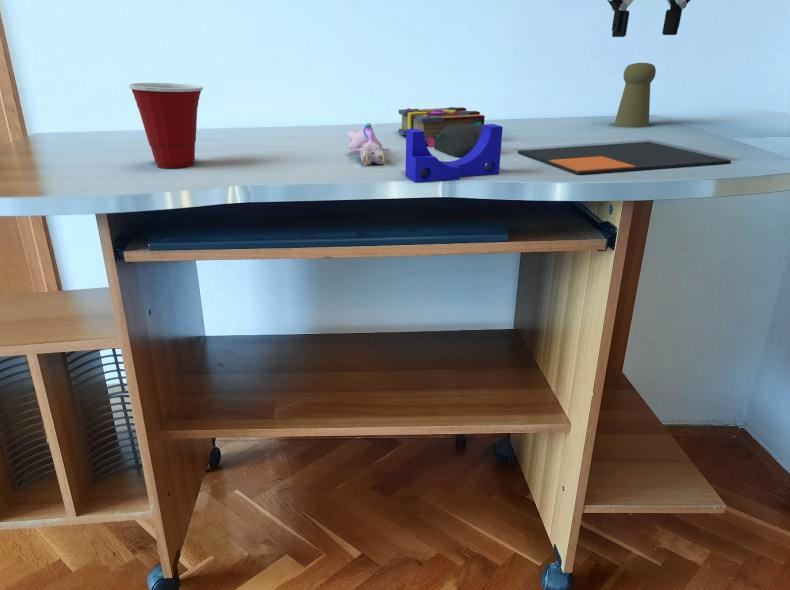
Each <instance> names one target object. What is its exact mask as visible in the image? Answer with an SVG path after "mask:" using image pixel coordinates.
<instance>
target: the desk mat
mask: <svg viewBox="0 0 790 590" xmlns="http://www.w3.org/2000/svg"><path fill="white" fill-rule="evenodd" d="M517 154H519V155H522V156H524V157H528V158H530V159H533V160H536V161H539V162H542V163H543V164H547V165H549V166H553V167H556V168H558V169H561V170H564V171H567V172H569V173H572V174H574V175H578V176H583V175H597V174H598V175H599V174H608V173H609V174H610V173H622V172H635V171H647V170H661V169H673V168H674V169H675V168H687V167H699V166H700V167H701V166H714V165H726V164H727V165H728V164H731V163H732V159H726V158H722V157H718V156H713V155H709V154H705V153H700V152H696V151H691V150H687V149H683V148H679V147H674V146H671V145H670V146H669V145H665V144H661V143H656V142H652V141H640V142H639V141H637V142H623V143H608V144H593V145H580V146H579V145H578V146H566V147H564V146H563V147H551V148H549V147H548V148H538V149H537V148H536V149H534V148H533V149H523V150H517Z"/></svg>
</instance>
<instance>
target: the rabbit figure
mask: <svg viewBox="0 0 790 590" xmlns="http://www.w3.org/2000/svg"><path fill="white" fill-rule="evenodd" d="M371 124H372V123H370V122H366V123H365V124H364V126H363V130H359V131H356V130H349V131H348V132H347V136H348V140H350V143H349V145H348V150H349V151H348V152H349V154H353V155H355V156H360V162H361V163H362V164H363V165H364V166H369V165H370V166H371V165H372V164H376V165H382V164H383V167H385V164H386V165H387V164H388V162H387V159H386V155H385V152H391V148H390V147H384V146H382V143H381V142H380V140H379V139H378V138H377V137H376V135H375V132H374V130H373V127H372V125H371Z"/></svg>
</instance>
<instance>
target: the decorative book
mask: <svg viewBox="0 0 790 590" xmlns="http://www.w3.org/2000/svg"><path fill="white" fill-rule="evenodd" d="M398 115H401V128H398V134H399V135H402V136H406V129H419V130H422V131H424V137H425V142H426V146H427V147H428V148H434V145H435V141H436V139H437V137H438V135H439V134H440V132H441V131H442V130H443V129H445V128H446V127H448V126H453V125H468V124H476V125H479V126H481V127H483V125H484V124H485V119H486V116H485V115H483V114H481V112H480V111H478V110H467V108H466V107H463V106H461V107H456V106H455V107H454V106H449V107H442V108H441V107H440V108H423V109H419V108H409V107H408V108H405V109H402V108H401V109H398Z"/></svg>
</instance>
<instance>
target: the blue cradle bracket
mask: <svg viewBox="0 0 790 590" xmlns="http://www.w3.org/2000/svg"><path fill="white" fill-rule="evenodd" d="M503 129H504V127H503V126H502V125H498V124H495V123H486V124H485V123H484V125H483V127H482V132H481V135H480V138H479V140H478V142H477V144H476V145H475V147H474V148H473V149H472V150H471V151H470V152H469V153H468V154H467V155H465V156H464V157H459V158H458V159H455V160H451V161H443V160H439V159H438V157H436V156H435V155H433V154H432V153H431V151H430V150H429V147H428V145H427V144H426V142H425V137H424V131H422V130H419V129H406V135H405V177H407V178H408V179H409V180H411V182H414V183H426V182H428V183H429V182H440V181H441V182H442V181H454V180H461V177H476V176H488V175H489V176H491V175H500V167H501V155H502V142H503Z"/></svg>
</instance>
